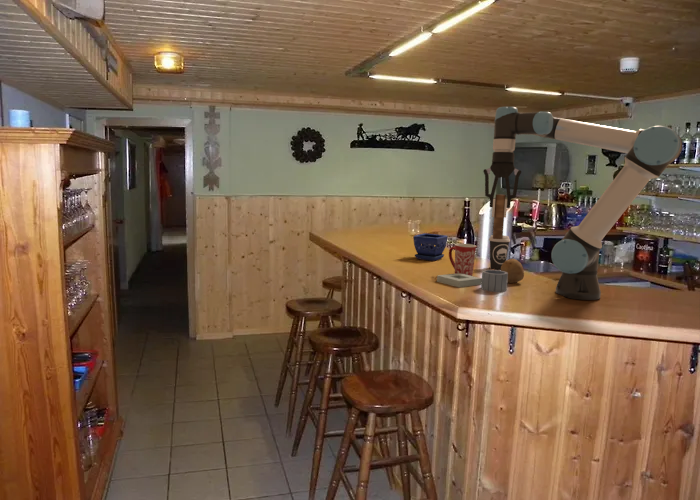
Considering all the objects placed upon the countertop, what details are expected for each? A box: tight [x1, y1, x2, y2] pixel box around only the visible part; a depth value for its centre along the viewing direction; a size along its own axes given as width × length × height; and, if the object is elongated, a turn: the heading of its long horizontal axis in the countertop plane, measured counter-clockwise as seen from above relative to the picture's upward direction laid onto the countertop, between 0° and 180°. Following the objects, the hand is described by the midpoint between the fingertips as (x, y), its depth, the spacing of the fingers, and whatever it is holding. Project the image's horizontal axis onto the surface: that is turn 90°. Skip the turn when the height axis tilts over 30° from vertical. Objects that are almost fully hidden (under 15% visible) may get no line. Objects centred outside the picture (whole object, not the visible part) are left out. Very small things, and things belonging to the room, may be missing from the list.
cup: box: [480, 269, 508, 293], centre depth 202 cm, size 9×9×7 cm
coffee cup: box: [488, 234, 511, 271], centre depth 249 cm, size 10×10×15 cm
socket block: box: [436, 272, 482, 288], centre depth 211 cm, size 12×12×3 cm
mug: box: [448, 243, 478, 276], centre depth 227 cm, size 13×9×14 cm
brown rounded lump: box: [500, 258, 525, 284], centre depth 216 cm, size 9×9×10 cm
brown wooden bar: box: [492, 194, 507, 239], centre depth 198 cm, size 4×4×16 cm
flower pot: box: [413, 232, 448, 262], centre depth 271 cm, size 13×13×12 cm
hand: (499, 216), depth 198 cm, fingers closed on brown wooden bar, 3 cm apart
